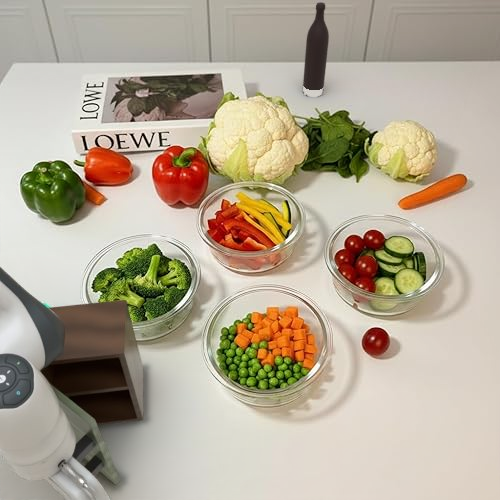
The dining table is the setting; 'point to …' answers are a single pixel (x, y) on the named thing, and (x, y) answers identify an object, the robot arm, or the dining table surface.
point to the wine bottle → (316, 51)
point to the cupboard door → (87, 439)
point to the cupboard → (99, 362)
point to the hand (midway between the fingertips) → (64, 484)
